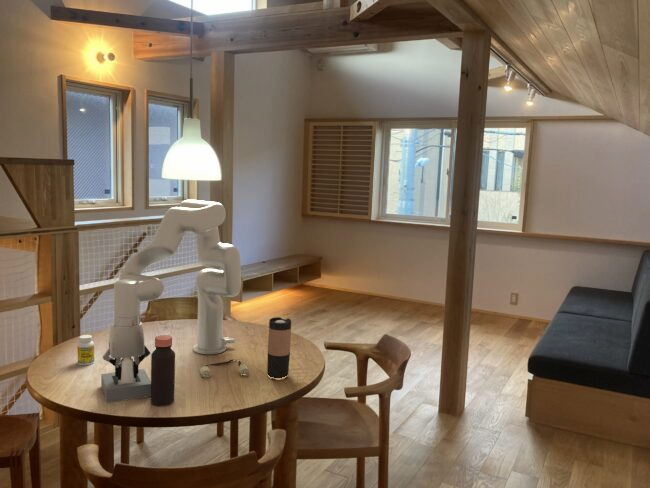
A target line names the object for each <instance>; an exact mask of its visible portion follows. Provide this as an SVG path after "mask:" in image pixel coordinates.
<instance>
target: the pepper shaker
mask: <svg viewBox="0 0 650 488" xmlns="http://www.w3.org/2000/svg"><path fill="white" fill-rule="evenodd" d="M120 367H121V379H120V380H118V385H119V384H127V383H135V382H136V380H135V378H134V358H133V357H124V358H121V360H120Z"/></svg>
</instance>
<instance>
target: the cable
mask: <svg viewBox="0 0 650 488" xmlns="http://www.w3.org/2000/svg"><path fill="white" fill-rule="evenodd" d="M233 360H234V359H229V360H227V361H223V362H217V363H211V364H207V365H202V366H201V368H200V369H199V373H200V375H201V377H202V378H203V377H204V378H210V377H211V375H212V373H211V369H210V368H209V366H208V365H211V366H221V365H227V364H229V363H232V362H231V361H233ZM240 364H241V366H240V367H239V365H240ZM207 366H208V367H207ZM238 371H239V375H240V374H242V375H243V374H247V375H246V376H249V375H250V371H249V367H248V366H247V364H242V361H240V360H239V362H238ZM208 376H209V377H208Z"/></svg>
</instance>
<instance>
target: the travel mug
mask: <svg viewBox="0 0 650 488" xmlns="http://www.w3.org/2000/svg"><path fill="white" fill-rule="evenodd" d="M268 322H269V323H268V339H267V340H268V341H267V367H266V368H267V372H266V375H267V374H268V375H269V376H270V377H274V378H282V377H285V376H287V375H288V376H289V371H290V370H289V367H290V356H291V339H292V338H291V337H292V335H291V334H292V333H291V332H292V320H291V319H290V318H286V319H284V318H282V317H277V316H276V317H271V318H270V319H269V321H268Z"/></svg>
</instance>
